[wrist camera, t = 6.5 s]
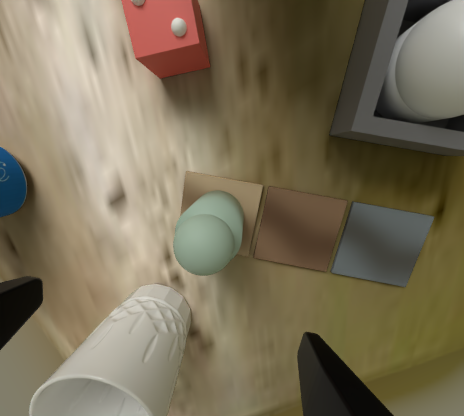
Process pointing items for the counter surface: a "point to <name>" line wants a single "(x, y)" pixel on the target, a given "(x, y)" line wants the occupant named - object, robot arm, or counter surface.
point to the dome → (427, 69)
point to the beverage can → (11, 184)
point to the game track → (322, 230)
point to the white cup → (123, 361)
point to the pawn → (209, 233)
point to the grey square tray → (372, 77)
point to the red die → (167, 35)
